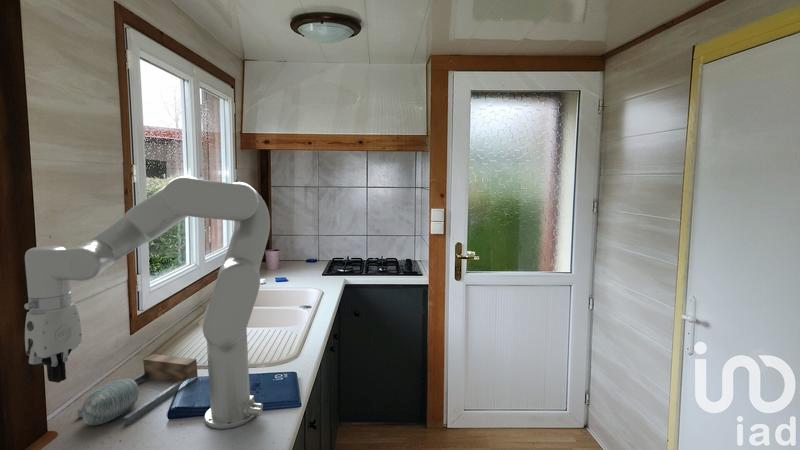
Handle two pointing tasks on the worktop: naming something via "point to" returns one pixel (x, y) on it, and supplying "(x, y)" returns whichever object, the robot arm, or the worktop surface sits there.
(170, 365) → the end stop
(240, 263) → the robot arm
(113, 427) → the worktop surface
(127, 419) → the guide rails
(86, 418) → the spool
